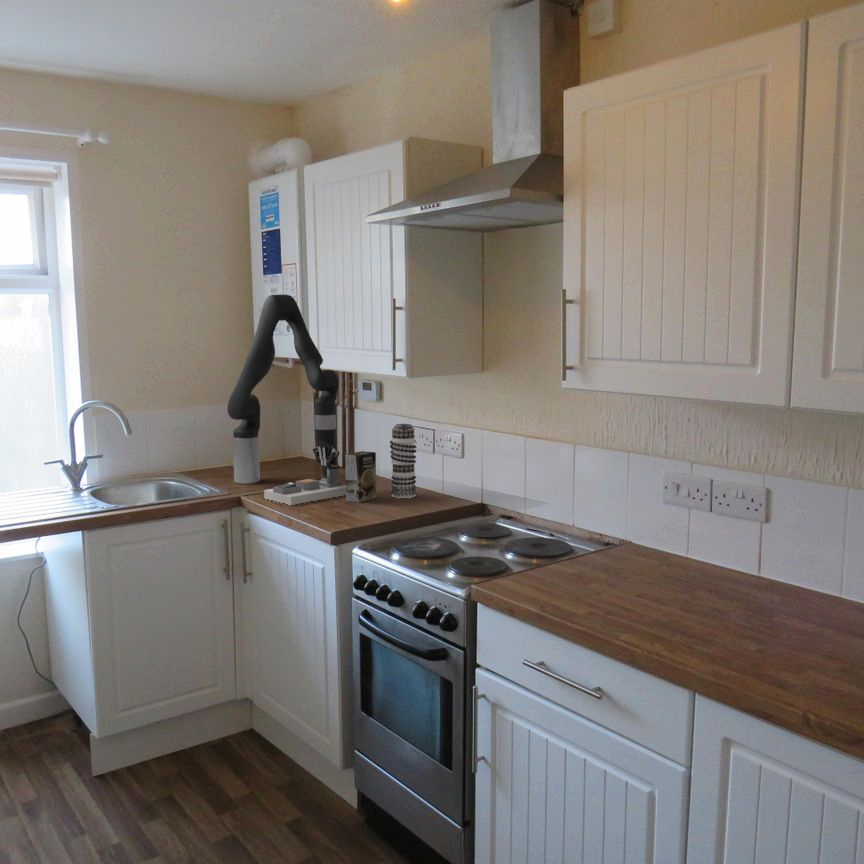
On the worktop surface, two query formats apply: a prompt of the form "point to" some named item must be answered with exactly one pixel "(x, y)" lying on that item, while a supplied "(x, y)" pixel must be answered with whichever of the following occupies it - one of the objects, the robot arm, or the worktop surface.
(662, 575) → the worktop surface
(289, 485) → the rocker switch
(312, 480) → the push button
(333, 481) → the slide paddle
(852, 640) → the worktop surface
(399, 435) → the decorative candle
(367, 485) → the coffee box
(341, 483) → the control panel
